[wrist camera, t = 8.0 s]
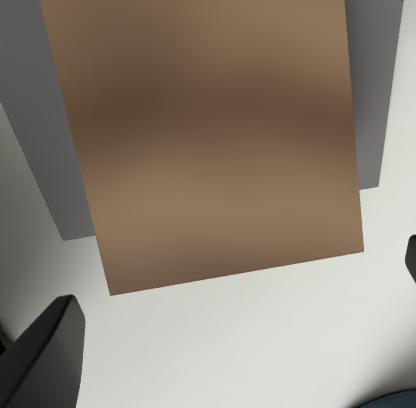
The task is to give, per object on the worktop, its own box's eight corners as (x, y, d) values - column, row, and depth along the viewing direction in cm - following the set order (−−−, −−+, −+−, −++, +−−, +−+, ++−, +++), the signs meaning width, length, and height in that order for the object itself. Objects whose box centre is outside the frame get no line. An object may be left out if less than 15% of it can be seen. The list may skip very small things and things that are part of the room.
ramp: (316, 196, 17) (362, 260, 13) (126, 229, 16) (113, 304, 12) (324, -63, 11) (406, -91, 7) (46, -19, 11) (-18, -22, 7)
